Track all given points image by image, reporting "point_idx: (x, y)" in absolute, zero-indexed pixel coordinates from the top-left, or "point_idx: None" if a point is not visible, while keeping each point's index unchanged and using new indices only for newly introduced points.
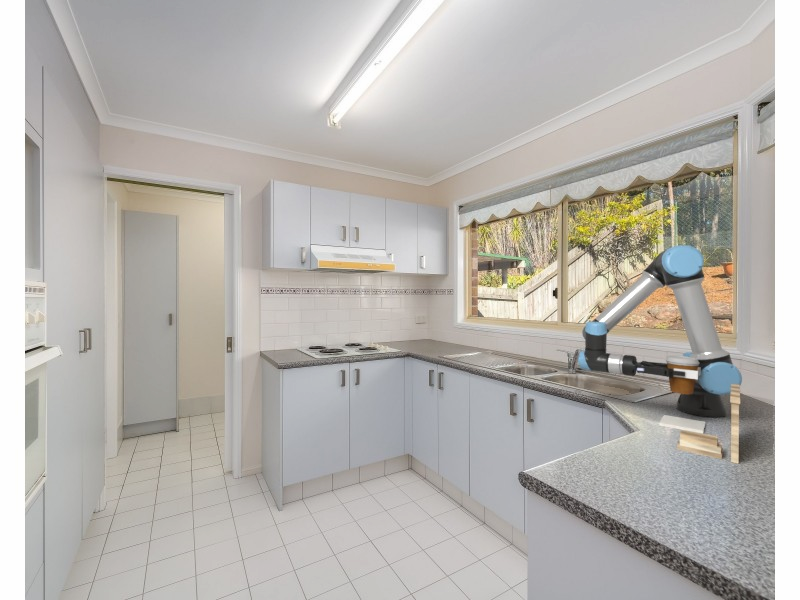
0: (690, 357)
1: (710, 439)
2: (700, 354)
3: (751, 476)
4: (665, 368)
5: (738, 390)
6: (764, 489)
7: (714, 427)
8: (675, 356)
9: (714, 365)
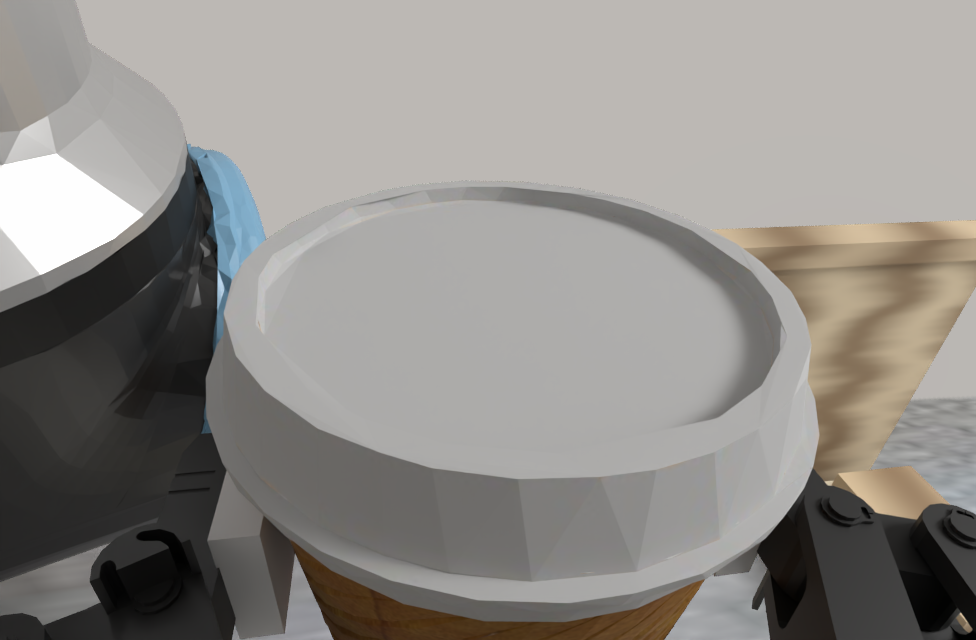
0: (311, 232)
1: (926, 486)
2: (53, 148)
3: (917, 426)
4: (903, 603)
5: (747, 230)
6: (971, 400)
7: (327, 626)
8: (289, 389)
9: (257, 214)
